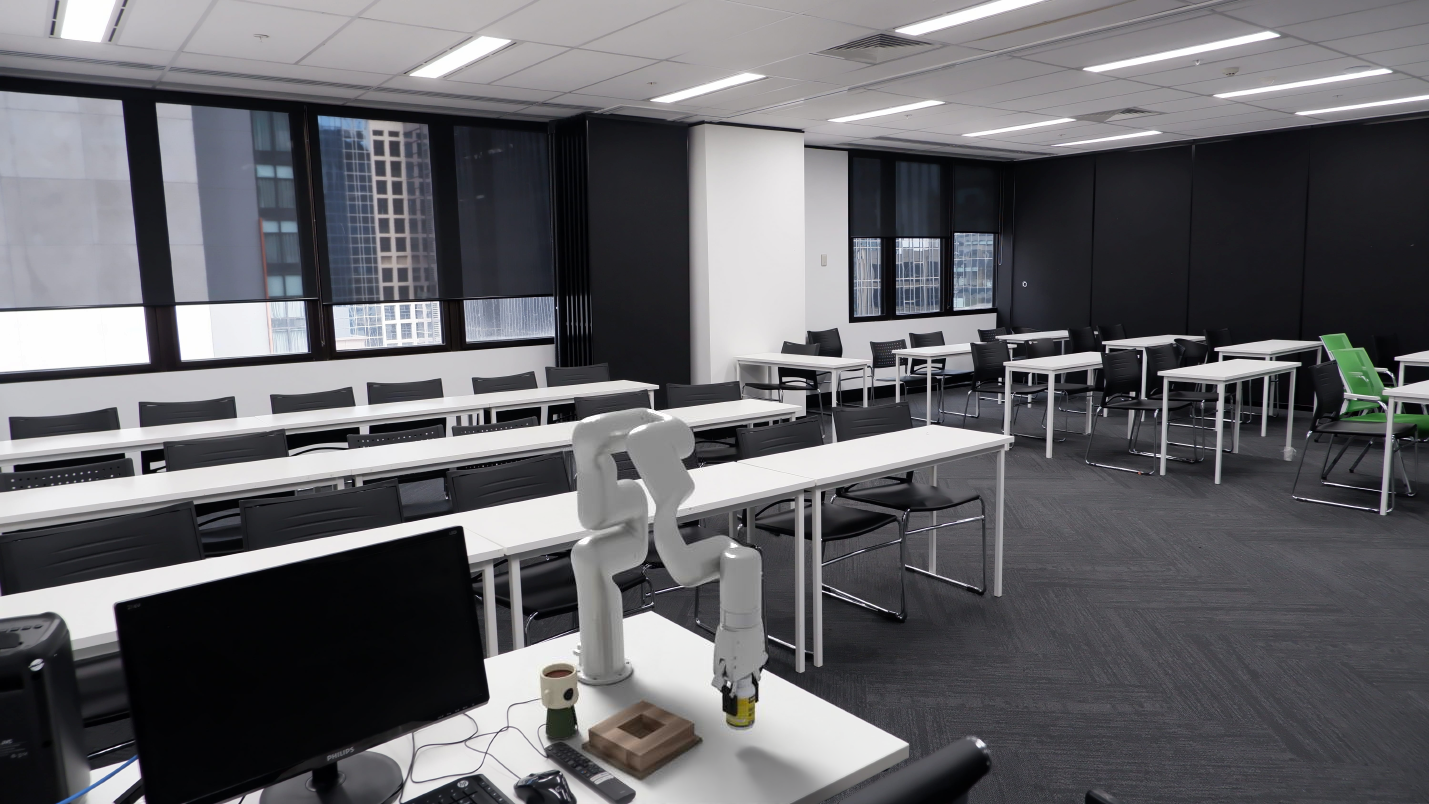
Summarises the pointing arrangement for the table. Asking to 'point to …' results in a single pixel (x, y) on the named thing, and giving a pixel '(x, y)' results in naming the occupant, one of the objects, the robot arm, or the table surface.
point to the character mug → (560, 699)
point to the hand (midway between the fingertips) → (740, 705)
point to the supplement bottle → (743, 705)
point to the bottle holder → (641, 739)
